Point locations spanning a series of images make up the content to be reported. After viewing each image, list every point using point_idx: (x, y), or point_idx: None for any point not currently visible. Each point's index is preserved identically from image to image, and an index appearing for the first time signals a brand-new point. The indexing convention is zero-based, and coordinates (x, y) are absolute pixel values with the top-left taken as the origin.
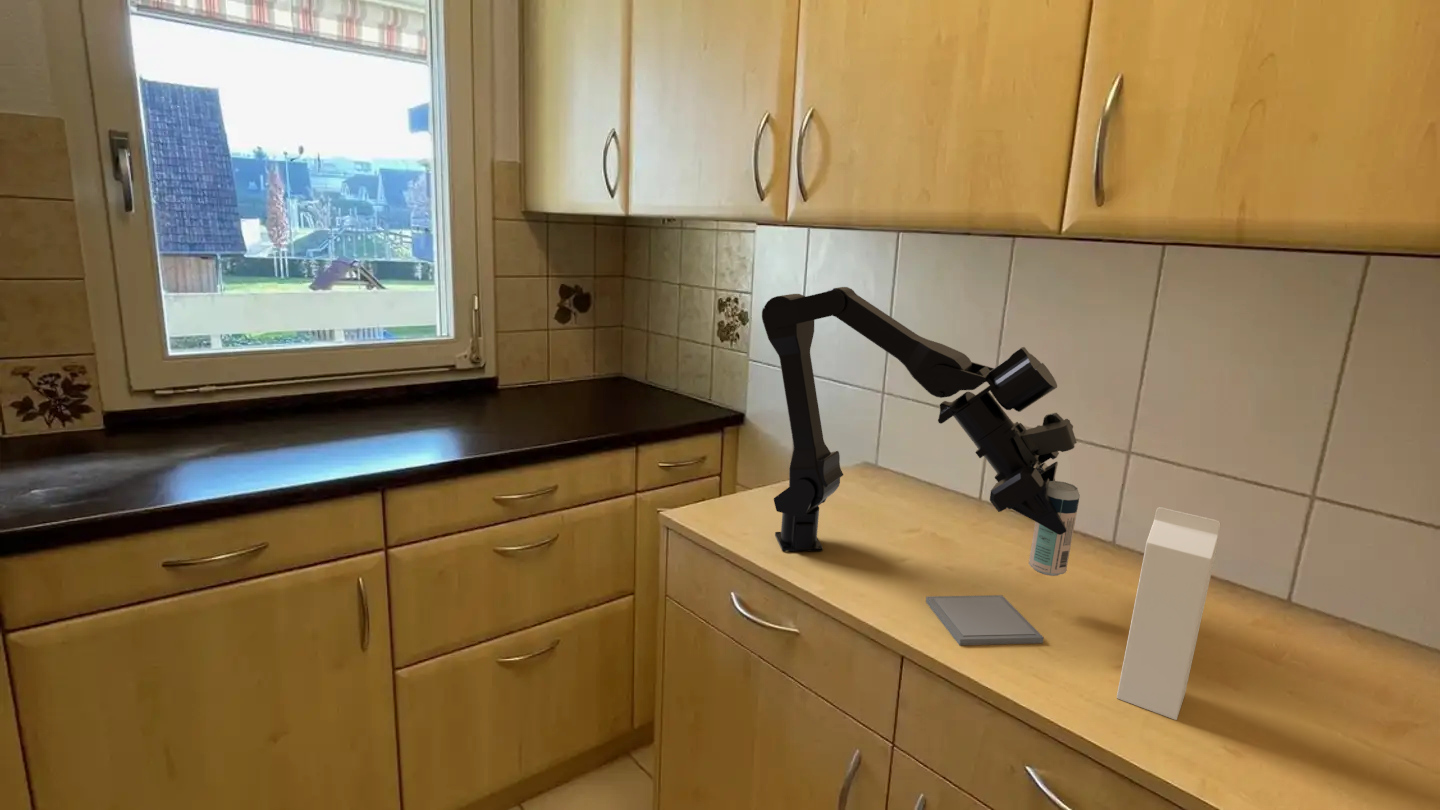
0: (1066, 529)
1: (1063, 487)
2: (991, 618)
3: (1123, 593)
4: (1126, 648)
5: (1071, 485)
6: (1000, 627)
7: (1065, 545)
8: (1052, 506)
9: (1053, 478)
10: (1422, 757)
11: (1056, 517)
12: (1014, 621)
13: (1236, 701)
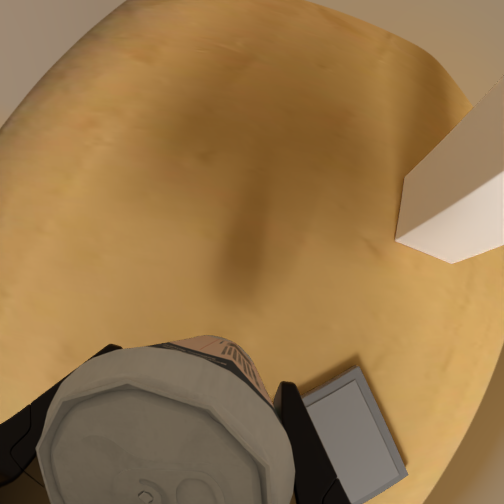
0: (283, 382)
1: (163, 487)
2: (328, 452)
3: (91, 205)
4: (499, 245)
5: (61, 405)
6: (354, 435)
7: (246, 362)
8: (327, 492)
9: (1, 484)
10: (376, 27)
11: (320, 446)
12: (323, 417)
13: (380, 123)
